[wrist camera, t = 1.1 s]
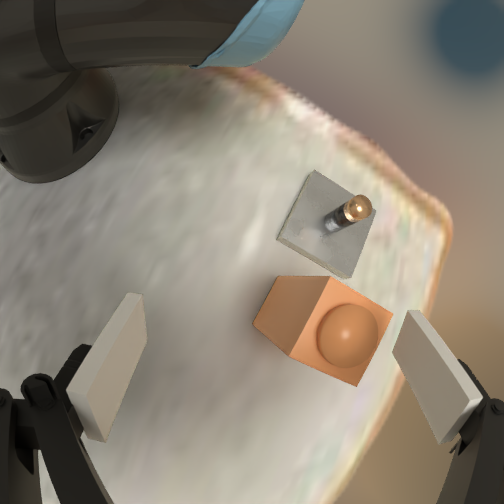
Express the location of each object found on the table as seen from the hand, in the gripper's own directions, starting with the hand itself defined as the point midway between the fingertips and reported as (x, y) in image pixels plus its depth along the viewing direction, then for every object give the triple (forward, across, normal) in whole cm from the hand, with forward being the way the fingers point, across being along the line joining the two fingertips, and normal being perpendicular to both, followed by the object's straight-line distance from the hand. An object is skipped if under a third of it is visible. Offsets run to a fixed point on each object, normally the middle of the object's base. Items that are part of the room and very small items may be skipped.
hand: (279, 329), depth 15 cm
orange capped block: (+13, +3, -7) cm, 15 cm away
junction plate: (+18, +6, 0) cm, 19 cm away
